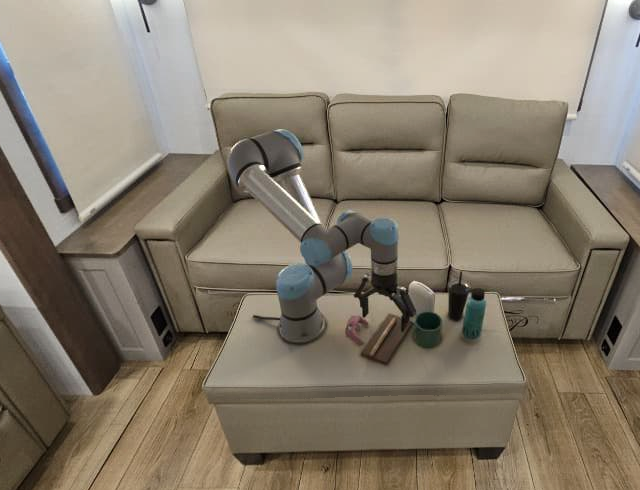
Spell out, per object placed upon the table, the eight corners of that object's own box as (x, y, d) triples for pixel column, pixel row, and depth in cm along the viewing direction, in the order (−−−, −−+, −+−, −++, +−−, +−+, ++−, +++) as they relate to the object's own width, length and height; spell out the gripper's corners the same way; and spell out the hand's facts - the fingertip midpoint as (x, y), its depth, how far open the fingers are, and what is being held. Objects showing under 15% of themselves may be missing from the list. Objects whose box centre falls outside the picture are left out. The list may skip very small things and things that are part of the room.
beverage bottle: (458, 339, 142) (464, 294, 130) (464, 326, 147) (471, 282, 135) (477, 346, 140) (485, 301, 128) (482, 332, 145) (491, 288, 133)
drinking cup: (465, 324, 148) (472, 280, 136) (443, 321, 149) (448, 277, 137) (466, 310, 154) (473, 266, 142) (445, 306, 155) (450, 263, 143)
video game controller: (359, 325, 148) (349, 311, 145) (370, 323, 147) (360, 308, 143) (350, 346, 141) (340, 331, 137) (362, 344, 139) (352, 329, 136)
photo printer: (406, 308, 154) (407, 281, 147) (414, 302, 156) (415, 276, 149) (427, 322, 148) (429, 296, 141) (435, 316, 151) (437, 290, 143)
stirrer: (405, 354, 141) (369, 357, 134) (394, 319, 148) (360, 319, 141) (407, 352, 140) (371, 355, 133) (396, 317, 147) (362, 317, 140)
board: (361, 354, 136) (361, 352, 135) (389, 315, 151) (389, 313, 150) (386, 364, 133) (386, 362, 132) (412, 323, 148) (412, 321, 147)
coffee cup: (409, 341, 141) (410, 325, 136) (420, 324, 148) (421, 308, 143) (434, 351, 138) (436, 334, 133) (444, 332, 144) (446, 316, 140)
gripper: (340, 263, 123) (344, 316, 136) (419, 289, 115) (415, 343, 127) (353, 250, 128) (356, 302, 141) (429, 274, 120) (425, 327, 133)
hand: (384, 321), depth 134 cm, fingers open, 13 cm apart
